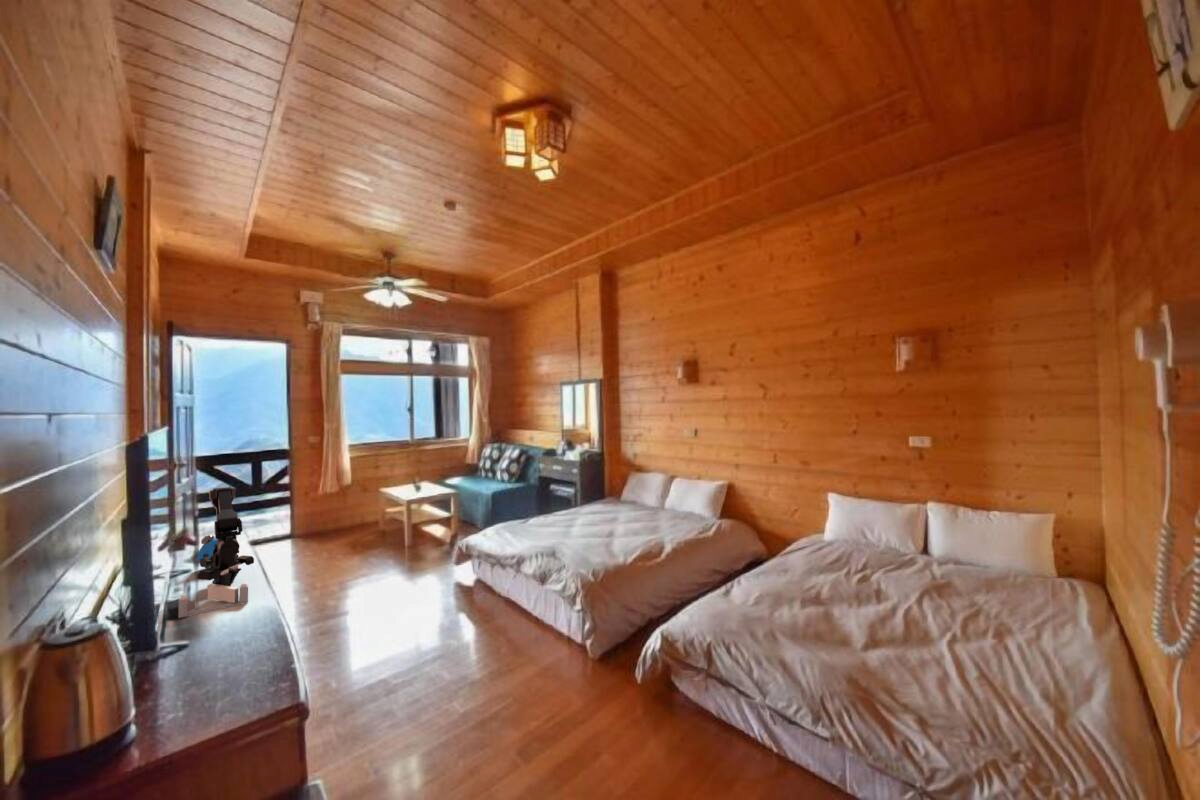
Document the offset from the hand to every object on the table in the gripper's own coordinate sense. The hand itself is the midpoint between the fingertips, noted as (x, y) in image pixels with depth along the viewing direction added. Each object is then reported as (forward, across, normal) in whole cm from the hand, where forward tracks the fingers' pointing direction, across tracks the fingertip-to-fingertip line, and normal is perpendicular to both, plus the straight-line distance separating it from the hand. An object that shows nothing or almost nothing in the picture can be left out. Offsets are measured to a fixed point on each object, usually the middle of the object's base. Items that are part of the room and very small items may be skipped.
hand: (226, 589), depth 181 cm
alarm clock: (+3, -24, -31) cm, 39 cm away
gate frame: (+3, +10, +6) cm, 12 cm away
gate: (+2, +5, +4) cm, 6 cm away
